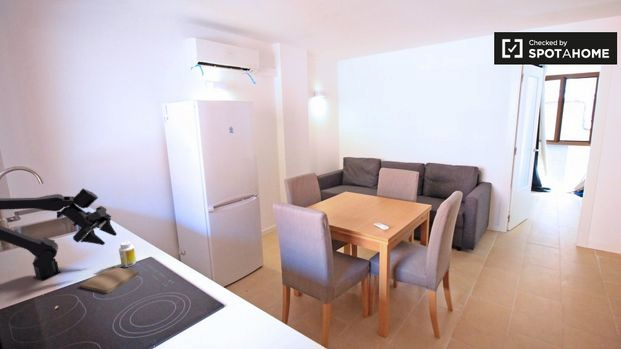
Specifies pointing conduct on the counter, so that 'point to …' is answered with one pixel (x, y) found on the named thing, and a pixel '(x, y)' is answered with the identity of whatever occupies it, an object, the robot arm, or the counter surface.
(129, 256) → the supplement bottle
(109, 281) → the board
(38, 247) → the robot arm
